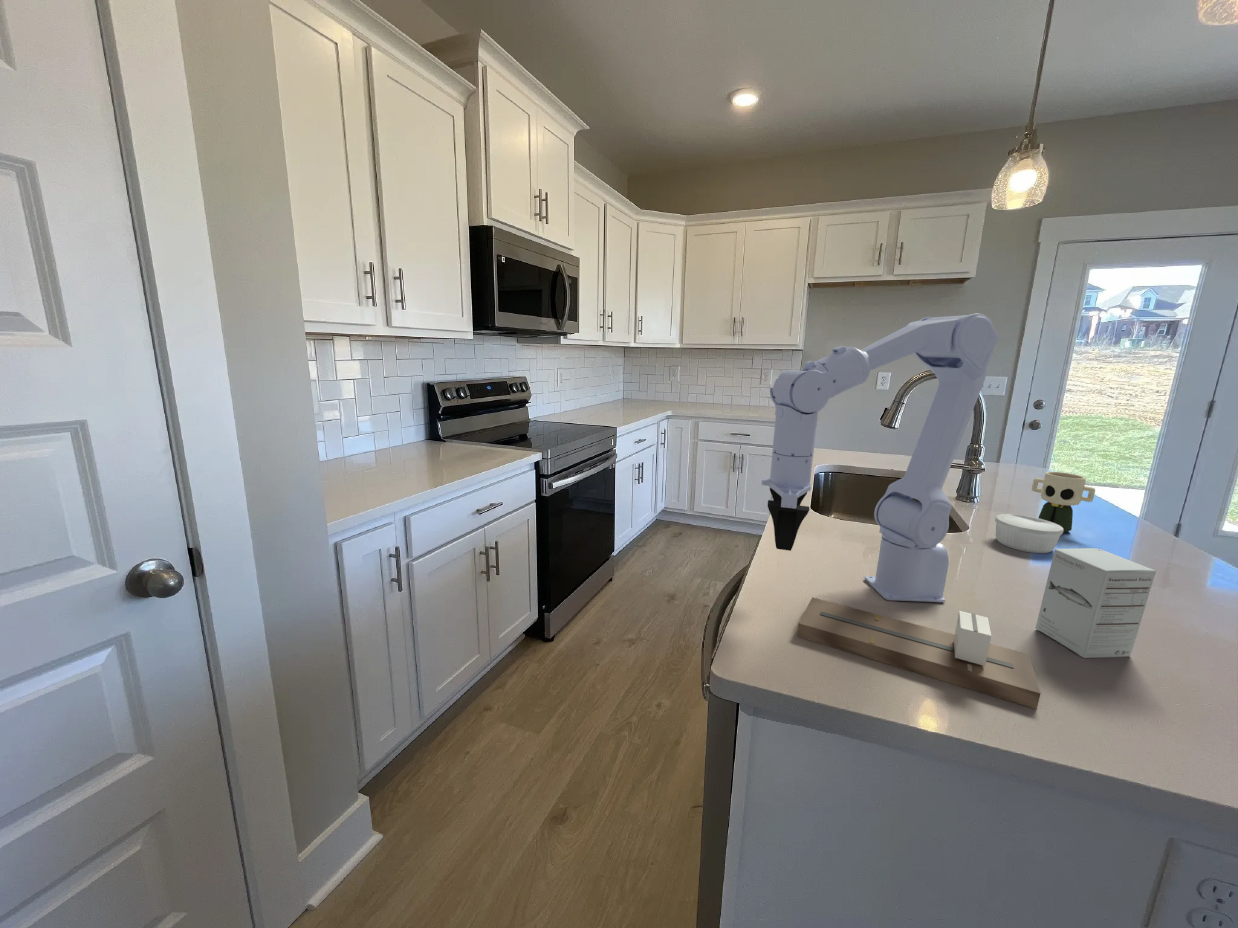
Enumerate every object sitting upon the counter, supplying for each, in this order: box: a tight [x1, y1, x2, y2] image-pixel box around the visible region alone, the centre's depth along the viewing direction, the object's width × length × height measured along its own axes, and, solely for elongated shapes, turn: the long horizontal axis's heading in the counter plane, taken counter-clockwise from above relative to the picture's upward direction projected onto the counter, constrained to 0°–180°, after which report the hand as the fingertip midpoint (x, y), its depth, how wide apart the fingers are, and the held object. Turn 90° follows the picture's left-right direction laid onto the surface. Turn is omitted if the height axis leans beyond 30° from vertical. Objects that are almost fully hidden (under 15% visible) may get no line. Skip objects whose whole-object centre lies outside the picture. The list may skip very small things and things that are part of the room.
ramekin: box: [994, 513, 1064, 554], centre depth 106 cm, size 11×11×5 cm
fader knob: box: [954, 610, 992, 666], centre depth 63 cm, size 3×5×4 cm, turn 148°
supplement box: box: [1035, 547, 1157, 659], centre depth 69 cm, size 7×7×13 cm
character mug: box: [1031, 471, 1096, 533], centre depth 116 cm, size 11×7×13 cm, turn 37°
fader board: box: [796, 597, 1042, 710], centre depth 67 cm, size 26×9×2 cm, turn 58°
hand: (783, 539), depth 77 cm, fingers open, 7 cm apart
